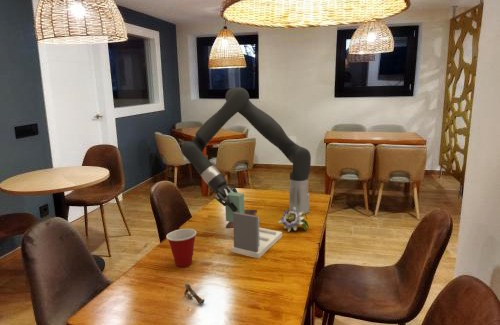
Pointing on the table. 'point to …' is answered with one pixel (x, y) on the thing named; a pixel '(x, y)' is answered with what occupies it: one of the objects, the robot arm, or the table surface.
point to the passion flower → (293, 219)
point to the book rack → (252, 236)
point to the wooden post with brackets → (192, 292)
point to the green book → (238, 202)
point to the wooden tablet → (249, 212)
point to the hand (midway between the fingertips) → (238, 209)
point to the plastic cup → (182, 246)
